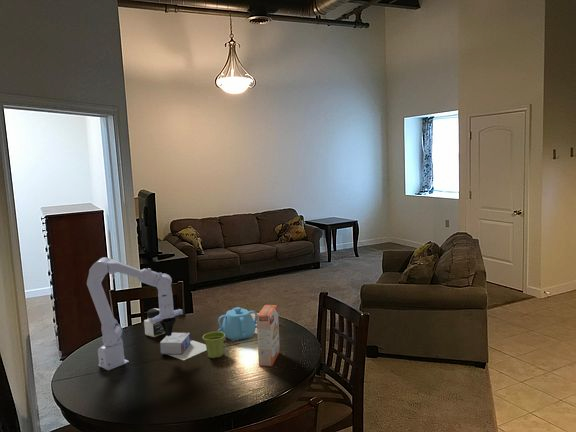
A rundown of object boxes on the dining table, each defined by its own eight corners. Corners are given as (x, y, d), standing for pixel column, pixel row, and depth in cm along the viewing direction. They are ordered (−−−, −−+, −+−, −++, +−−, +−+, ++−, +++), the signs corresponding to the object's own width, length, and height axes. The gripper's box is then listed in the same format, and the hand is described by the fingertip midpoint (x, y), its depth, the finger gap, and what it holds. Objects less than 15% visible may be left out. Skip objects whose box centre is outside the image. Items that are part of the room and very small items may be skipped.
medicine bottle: (154, 337, 224) (152, 312, 223) (144, 334, 228) (142, 310, 227) (166, 332, 230) (164, 308, 228) (157, 330, 234) (155, 306, 233)
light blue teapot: (214, 339, 218) (212, 311, 216) (235, 327, 232) (233, 300, 230) (242, 345, 210) (241, 315, 208) (263, 333, 223) (261, 305, 221)
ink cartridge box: (182, 355, 202) (192, 341, 216) (182, 343, 201) (192, 330, 215) (160, 354, 203) (171, 341, 217) (159, 342, 202) (170, 329, 216)
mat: (183, 360, 196) (183, 360, 196) (163, 353, 205) (163, 352, 205) (213, 347, 208) (213, 347, 208) (192, 341, 217) (192, 340, 217)
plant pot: (199, 358, 198) (197, 338, 197) (213, 349, 206) (211, 330, 205) (217, 361, 194) (216, 341, 193) (230, 352, 202) (229, 333, 201)
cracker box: (273, 367, 186) (270, 315, 184) (258, 366, 188) (255, 315, 185) (280, 352, 200) (278, 304, 197) (266, 352, 201) (264, 304, 199)
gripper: (156, 310, 189) (159, 343, 190) (186, 300, 200) (188, 331, 201) (146, 307, 193) (149, 339, 195) (175, 298, 204) (178, 328, 206)
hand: (168, 335), depth 198 cm, fingers closed
